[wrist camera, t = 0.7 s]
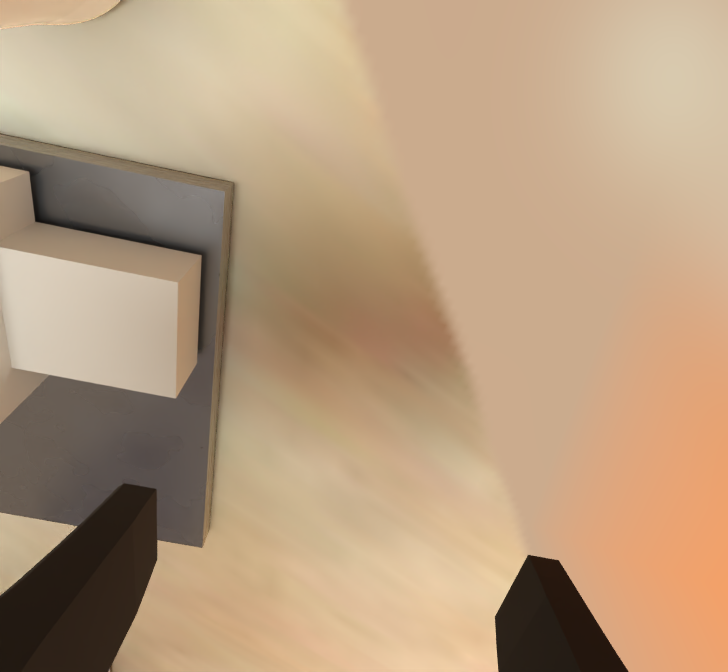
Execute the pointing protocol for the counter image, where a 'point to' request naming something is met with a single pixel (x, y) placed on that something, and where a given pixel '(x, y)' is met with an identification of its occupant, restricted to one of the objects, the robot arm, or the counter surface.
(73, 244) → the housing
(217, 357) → the base plate
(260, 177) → the counter surface
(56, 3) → the drinking glass
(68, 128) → the counter surface
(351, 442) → the counter surface
